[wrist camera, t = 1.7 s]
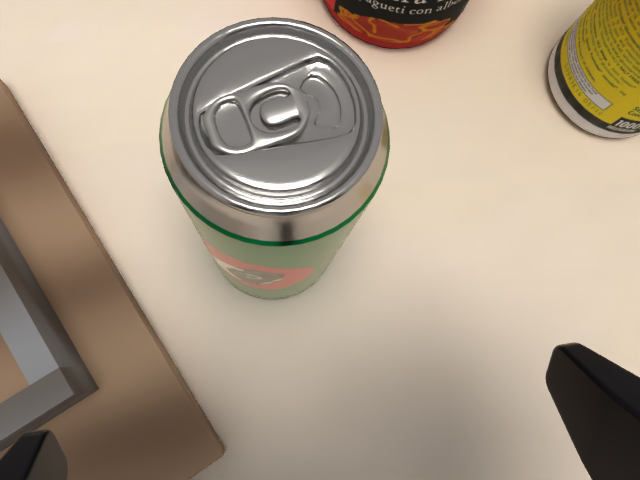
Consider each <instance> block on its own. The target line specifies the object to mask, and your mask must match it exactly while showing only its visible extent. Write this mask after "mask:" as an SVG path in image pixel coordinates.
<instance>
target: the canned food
mask: <svg viewBox="0 0 640 480" xmlns="http://www.w3.org/2000/svg"><path fill="white" fill-rule="evenodd" d="M324 1H325V4H326V6H327V7H328V9H329V11H330V12H331V14H332V16H333V17H334V18H335V19H336V20H337V21H338V22H339V24H340V25H341V26H342V27H343V28H345V29H346V30H347V31H348V32H350V33H351V34H352V35H354V36H355V37H357V38H359V39H361V40H363V41H365V42H367V43H371V44H374V45H377V46H380V47H388V48H407V47H413V46H416V45H420V44H423V43H425V42H427V41H429V40H431V39H433V38H435V37H436V36H438V35H439V34H440V33H441V32H443V31H444V30H445V29H446V28H448V27H449V26H450V25H451V24H452V23H454V22H455V20H456V19H457V18H458V17H459V15H460V14H461V13H462V12H463V10H464V8H465V6H466V5H467V3H468V1H469V0H324Z"/></svg>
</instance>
